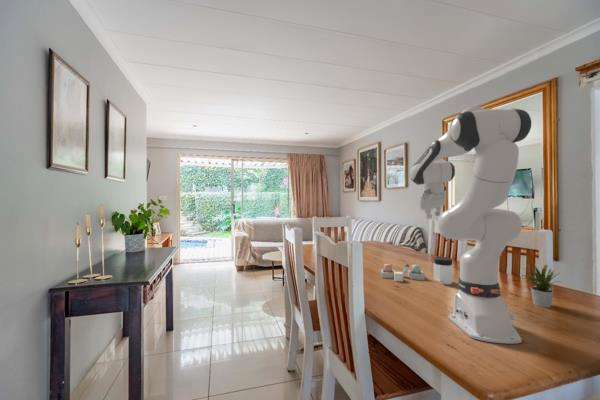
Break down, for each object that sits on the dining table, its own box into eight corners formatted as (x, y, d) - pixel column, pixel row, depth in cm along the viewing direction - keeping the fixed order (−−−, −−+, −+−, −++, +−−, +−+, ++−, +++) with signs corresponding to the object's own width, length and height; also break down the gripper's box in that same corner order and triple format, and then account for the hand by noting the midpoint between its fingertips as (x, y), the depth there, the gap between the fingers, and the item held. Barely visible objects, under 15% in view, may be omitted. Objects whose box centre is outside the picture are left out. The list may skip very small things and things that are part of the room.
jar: (448, 286, 136) (448, 261, 136) (431, 282, 142) (431, 258, 142) (455, 282, 142) (455, 258, 142) (438, 278, 148) (438, 256, 148)
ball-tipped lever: (404, 277, 146) (410, 265, 146) (400, 276, 147) (406, 264, 146) (403, 276, 149) (409, 264, 148) (399, 274, 149) (405, 263, 148)
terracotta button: (392, 273, 147) (392, 265, 147) (384, 272, 148) (384, 265, 148) (391, 271, 151) (391, 263, 151) (383, 270, 152) (383, 263, 152)
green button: (421, 274, 144) (421, 266, 144) (412, 274, 145) (412, 266, 145) (419, 272, 148) (419, 264, 148) (411, 272, 148) (411, 264, 148)
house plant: (521, 294, 123) (521, 257, 122) (565, 303, 113) (565, 262, 113) (515, 304, 113) (515, 263, 112) (563, 314, 103) (563, 269, 103)
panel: (430, 286, 135) (429, 278, 135) (382, 283, 140) (382, 275, 140) (424, 278, 149) (424, 270, 149) (380, 276, 154) (380, 268, 154)
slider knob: (403, 281, 140) (403, 273, 139) (394, 281, 140) (394, 273, 140) (402, 279, 143) (402, 271, 143) (393, 278, 144) (393, 271, 144)
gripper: (430, 190, 127) (430, 220, 128) (448, 186, 140) (448, 214, 142) (416, 190, 131) (417, 219, 133) (435, 186, 145) (435, 213, 146)
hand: (433, 216), depth 137 cm, fingers open, 8 cm apart
